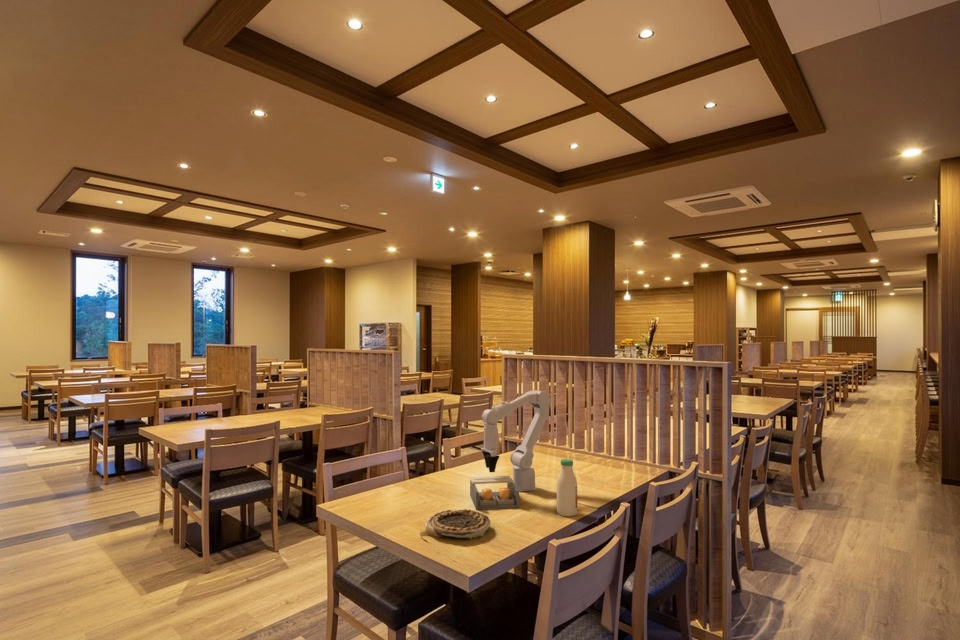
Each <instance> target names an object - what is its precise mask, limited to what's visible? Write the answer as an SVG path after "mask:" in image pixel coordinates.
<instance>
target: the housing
mask: <svg viewBox="0 0 960 640" xmlns="http://www.w3.org/2000/svg"><path fill="white" fill-rule="evenodd" d="M506 488H509V489H510V499H506V500H500V491H492V489H491V488H482V489H481V492H479V490H478V488H477V486H476V484H472V482H471V480H470V479H469V496H470V499H471V501H472V504H473V506H474V509H475V511H478V510H497V509H515V508H516V509H519V508H520V491H519V490H518V488H517V487H516V486H515V484H514V483H506Z"/></svg>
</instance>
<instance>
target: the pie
mask: <svg viewBox="0 0 960 640" xmlns="http://www.w3.org/2000/svg"><path fill="white" fill-rule="evenodd" d="M490 525H491V519H490V517H489V516H488V515H486V514H484V513H481V512H478V510H473V509H472V510H471V509H466V508H465V509H458V510H457V509H455V510H451V509H448V510H442V511H439V512H436V513H435V514H434V515H432V516H430V517H429V518H428V519H427V520H426V521H425V526H424V527H425V528H424V529H425V530H424V531H420V533H419V534H420V535H419V536H420V537H421V538H424V536H425V537H427V535H431V536H434V537H437V538H443V539H444V538H446V539H450V540H463V541H470V540H472V539H473V540H474V539H476V538H482V537H484V536H485V533H486V531H487V530H488V529H489V528H490ZM424 541H426V542H427V540H426V539H424Z"/></svg>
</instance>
